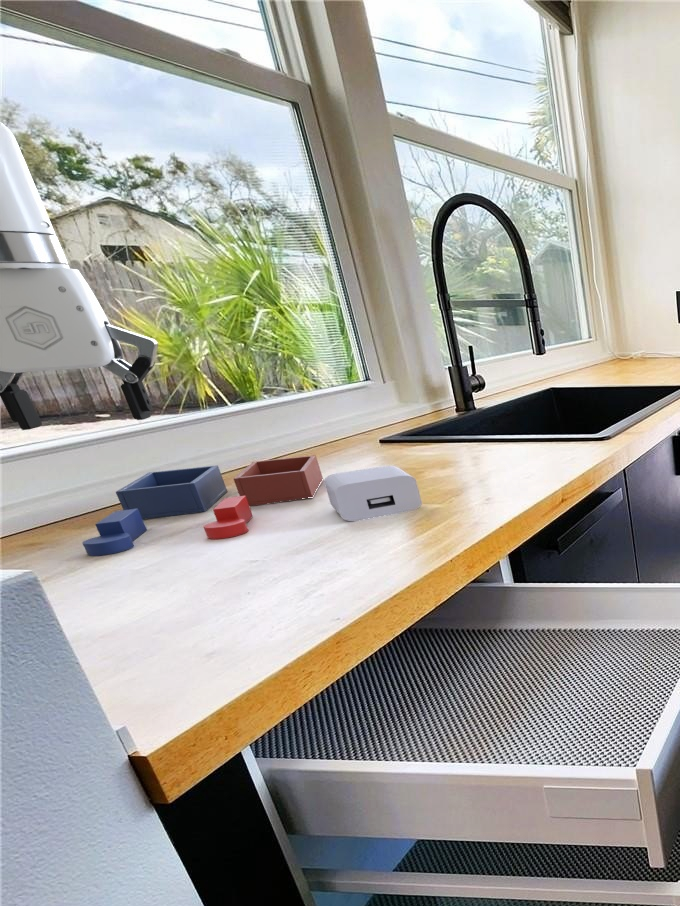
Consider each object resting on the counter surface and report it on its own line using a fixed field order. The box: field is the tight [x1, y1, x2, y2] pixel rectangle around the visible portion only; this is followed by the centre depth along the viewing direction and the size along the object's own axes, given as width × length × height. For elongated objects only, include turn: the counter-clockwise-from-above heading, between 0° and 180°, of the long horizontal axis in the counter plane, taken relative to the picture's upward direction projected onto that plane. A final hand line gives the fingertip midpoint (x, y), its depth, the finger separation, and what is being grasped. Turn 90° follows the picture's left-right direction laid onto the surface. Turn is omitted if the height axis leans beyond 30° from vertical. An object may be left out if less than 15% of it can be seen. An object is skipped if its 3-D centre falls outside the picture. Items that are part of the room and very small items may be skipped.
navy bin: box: [115, 464, 228, 520], centre depth 97 cm, size 8×13×4 cm, turn 27°
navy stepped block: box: [82, 509, 148, 557], centre depth 82 cm, size 10×4×3 cm, turn 27°
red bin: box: [233, 454, 324, 507], centre depth 102 cm, size 8×13×4 cm, turn 27°
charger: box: [323, 465, 423, 522], centre depth 94 cm, size 5×9×15 cm
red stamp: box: [203, 496, 254, 540], centre depth 86 cm, size 10×4×3 cm, turn 27°
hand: (89, 423), depth 78 cm, fingers open, 9 cm apart
